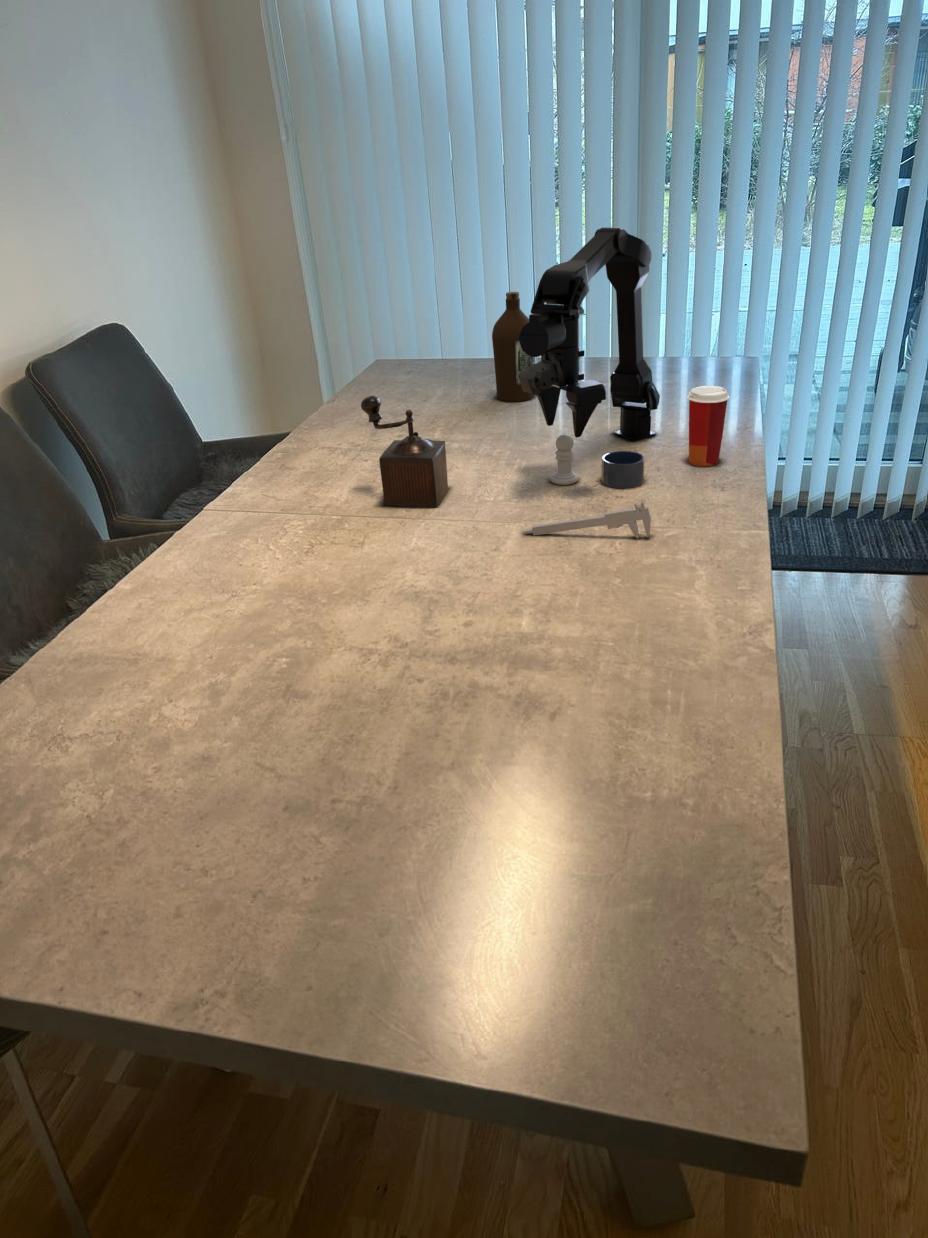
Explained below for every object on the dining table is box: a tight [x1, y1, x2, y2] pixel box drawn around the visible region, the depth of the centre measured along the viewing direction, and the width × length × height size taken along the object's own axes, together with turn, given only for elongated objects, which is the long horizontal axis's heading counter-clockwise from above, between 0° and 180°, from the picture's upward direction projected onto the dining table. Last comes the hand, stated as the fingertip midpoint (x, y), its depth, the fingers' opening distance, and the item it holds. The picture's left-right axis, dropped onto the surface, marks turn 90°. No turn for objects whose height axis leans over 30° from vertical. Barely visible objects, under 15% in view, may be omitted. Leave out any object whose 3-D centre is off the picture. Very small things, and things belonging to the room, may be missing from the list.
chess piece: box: [549, 433, 579, 486], centre depth 167 cm, size 5×5×9 cm
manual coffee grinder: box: [360, 395, 450, 508], centre depth 163 cm, size 16×11×18 cm
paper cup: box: [686, 385, 730, 467], centre depth 171 cm, size 8×8×14 cm
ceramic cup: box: [600, 450, 646, 489], centre depth 166 cm, size 8×8×5 cm
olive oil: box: [491, 291, 536, 403], centre depth 218 cm, size 11×11×25 cm
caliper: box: [524, 500, 652, 539], centre depth 145 cm, size 20×1×6 cm, turn 78°
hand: (563, 431), depth 164 cm, fingers open, 9 cm apart
